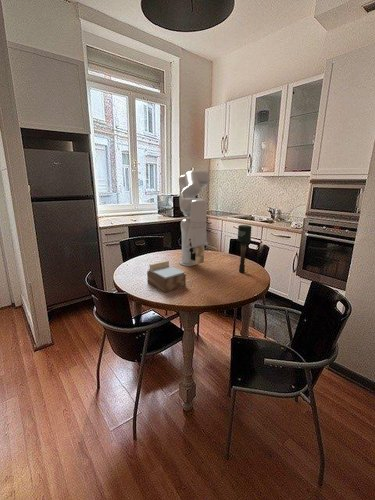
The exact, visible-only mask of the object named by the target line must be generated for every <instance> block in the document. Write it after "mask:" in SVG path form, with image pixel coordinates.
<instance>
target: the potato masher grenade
mask: <svg viewBox="0 0 375 500" xmlns="http://www.w3.org/2000/svg"><path fill="white" fill-rule="evenodd" d="M237 228H238V229H237V238H236V241H238V242H240V259H239V261H240V262H239V265H238V268H239V269H238V271H239V273H240V274H243V273H245V266H246V265H245V263H246V262H245V260H246V259H245V258H246V250H247V243H249V242H251V241H252V229H253V228H252V226H251V225H249V224H240V225H238V227H237Z"/></svg>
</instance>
